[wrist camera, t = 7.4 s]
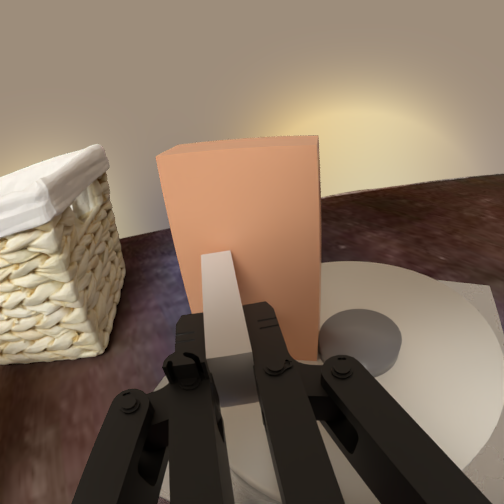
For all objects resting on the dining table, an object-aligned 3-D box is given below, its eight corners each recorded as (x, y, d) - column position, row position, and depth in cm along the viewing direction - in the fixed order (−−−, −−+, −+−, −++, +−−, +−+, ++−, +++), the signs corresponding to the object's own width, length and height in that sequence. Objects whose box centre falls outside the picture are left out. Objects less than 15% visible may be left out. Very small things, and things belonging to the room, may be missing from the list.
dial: (455, 281, 25) (478, 126, 18) (519, 489, 8) (685, 267, 2) (241, 277, 30) (220, 122, 23) (152, 484, 13) (-7, 255, 6)
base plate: (487, 290, 24) (491, 277, 24) (510, 552, 6) (525, 546, 5) (254, 262, 34) (253, 250, 33) (103, 463, 15) (93, 453, 14)
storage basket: (-60, 373, 20) (-126, 254, 12) (-10, 292, 34) (-48, 194, 26) (119, 369, 22) (42, 181, 15) (139, 264, 36) (108, 138, 29)
